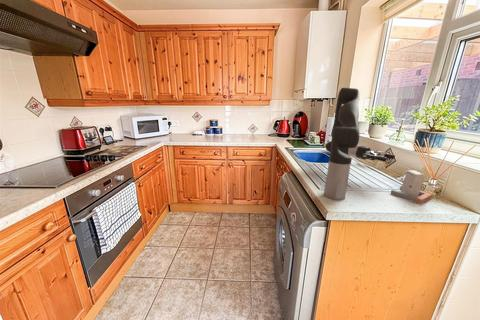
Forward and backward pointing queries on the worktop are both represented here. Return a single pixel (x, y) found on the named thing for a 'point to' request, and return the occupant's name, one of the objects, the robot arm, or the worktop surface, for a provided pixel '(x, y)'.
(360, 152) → the robot arm
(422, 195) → the channel
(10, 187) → the worktop surface
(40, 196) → the worktop surface
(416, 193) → the skincare box
